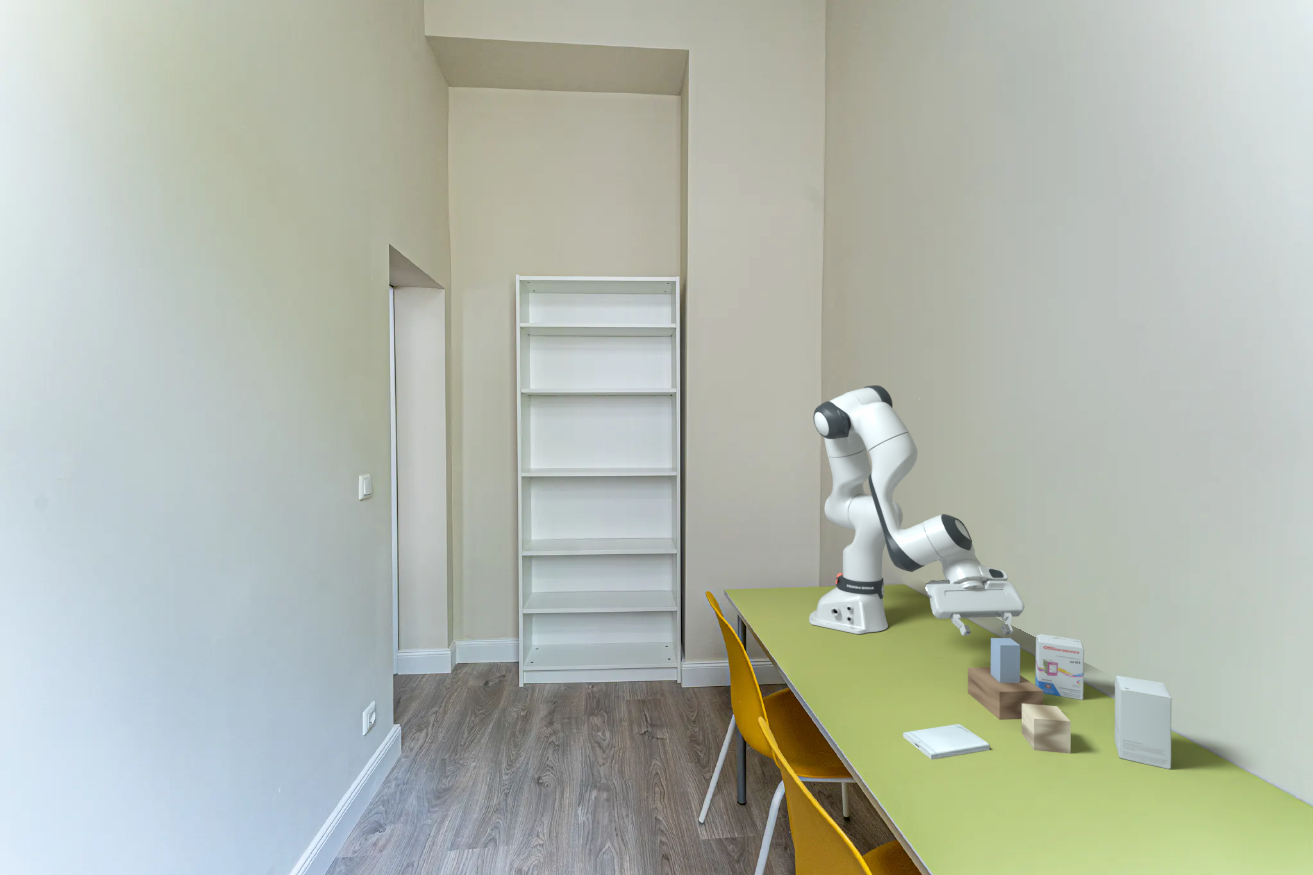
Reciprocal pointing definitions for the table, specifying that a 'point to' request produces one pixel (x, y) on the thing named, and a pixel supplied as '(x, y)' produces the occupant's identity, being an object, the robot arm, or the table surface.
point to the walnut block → (1002, 693)
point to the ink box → (1060, 666)
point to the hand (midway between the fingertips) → (987, 633)
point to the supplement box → (1143, 721)
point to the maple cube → (1046, 728)
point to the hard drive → (946, 741)
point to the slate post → (1005, 660)
